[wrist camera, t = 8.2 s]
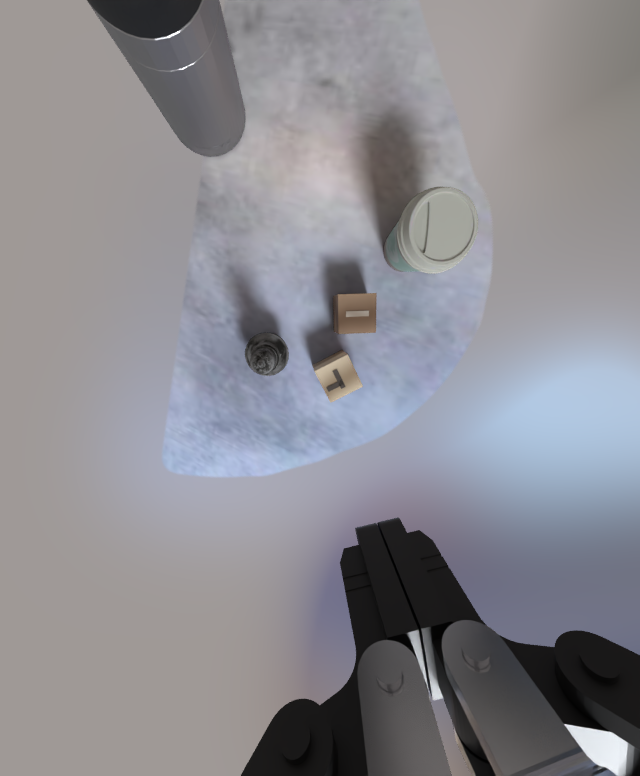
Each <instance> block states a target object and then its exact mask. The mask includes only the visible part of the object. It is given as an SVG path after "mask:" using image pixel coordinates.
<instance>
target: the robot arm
mask: <svg viewBox="0 0 640 776" xmlns="http://www.w3.org/2000/svg"><path fill="white" fill-rule="evenodd" d="M87 1H88V2H89V4H90V5H91V7H92V9H93V10H94V11H95V13H96V15H97V16H98V17H99V19H100V21H101V22H102V23H103V25H104V27H105V28H106V30H107V31H108V33H109V34H110V36H111V37H112V39H113V40H114V41H115V43H116V45H117V46H118V48H119V49H120V50H121V52H122V53H123V55H124V56H125V58H126V60H127V61H128V63H129V64H130V66H131V67H132V69H133V70H134V72H135V73H136V75H137V76H138V78H139V79H140V81H141V82H142V83H143V85H144V87H145V88H146V90H147V91H148V93H149V94H150V96H151V97H152V99H153V100H154V102H155V103H156V105H157V107H158V108H159V109H160V111H161V112H162V114H163V116H164V117H165V119H166V120H167V122H168V123H169V125H170V126H171V128H172V129H173V131H174V132H175V134H176V135H177V137H178V138H179V139H180V141H181V142H182V143H183V144H184V145H185V146H186V147H187V148H189V149H190V150H192V151H193V152H195V153H198V154H200V155H203V156H210V157H211V156H219V155H223V154H225V153H227V152H229V151H230V150H232V149H233V148H234V147H235V146H236V145H237V143H238V142H239V140H240V138H241V137H242V134H243V131H244V127H245V108H244V104H243V99H242V95H241V91H240V86H239V81H238V77H237V73H236V69H235V65H234V60H233V56H232V52H231V48H230V43H229V39H228V35H227V31H226V27H225V22H224V18H223V14H222V10H221V6H220V2H219V0H87ZM377 524H378V526H377ZM377 524H376V523H374V524H370V525H366V526H362V527H357V528H355V529H356V534H357V539H358V544H359V545H357V546H352V547H349V548H344V550H343V554H342V558H341V561H340V565H341V570H342V576H343V581H344V586H345V592H346V597H347V602H348V608H349V613H350V619H351V624H352V629H353V634H354V640H355V645H356V663H355V667H354V670H353V673H352V675H351V677H350V678H349V680H348V682H347V683H346V684H345V685H344V687H343V688H342V689H341V690H340V691H338V692H337V693H336V694H335V695H333V696H332V697H331V698H330V699H328V700H327V701H325V702H324V703H323V704H321V705H318V704H317V703H316V702H314V701H312V700H309V699H298V700H294V701H292V702H289V703H288V704H286V705H285V706H284V707H283V708H281V709H280V710H279V711H278V713H277V714H276V715H275V716H274V718H273V719H272V721H271V723H270V724H269V726H268V728H267V730H266V732H265V733H264V735H263V737H262V739H261V740H260V742H259V744H258V746H257V748H256V749H255V751H254V753H253V755H252V757H251V758H250V760H249V762H248V763H247V765H246V767H245V769H244V771H243V773H242V774H241V776H452V774H451V771H450V768H449V764H448V760H447V757H446V753H445V750H444V746H443V743H442V740H441V736H440V733H439V729H438V726H437V722H436V719H435V715H434V712H433V709H432V705H431V702H430V696H429V691H430V693H431V696H432V699H433V701H434V700H438V699H441V698H443V699H444V701H445V704H446V706H447V709H448V711H449V714H450V717H451V719H452V722H453V729H454V735H455V739H456V742H457V745H458V747H459V749H460V752H461V754H462V756H463V758H464V761H465V763H466V765H467V768H468V770H469V772H470V774H471V776H640V655H638V654H636V653H634V652H632V651H630V650H628V649H626V648H624V647H622V646H619V645H618V644H615V643H613V642H611V641H609V640H607V639H605V638H603V637H601V636H598V635H596V634H593V633H590V632H585V631H569V632H566V633H563V634H562V635H560V636H559V637H558V639H557V640H556V643H555V647H547V646H538V645H529V644H522V643H517V642H514V641H510V640H508V639H506V638H504V637H502V636H500V635H498V634H497V633H496V632H495V631H493V630H492V629H491V628H489V627H488V626H487V625H486V624H485V623H484V622H483V621H482V620H481V618H480V617H479V616H478V614H477V612H476V611H475V609H474V608H473V606H472V604H471V603H470V601H469V599H468V598H467V596H466V594H465V593H464V591H463V589H462V588H461V586H460V585H459V583H458V581H457V580H456V578H455V577H454V575H453V573H452V571H451V570H450V569H449V568H448V565H447V563H446V562H445V560H444V558H443V557H442V556H441V553H440V552H439V550H438V549H437V547H436V545H435V543H434V542H433V540H431V539H430V538H429V537H428V536H426V535H425V534H424V533H422V532H421V531H420V530H418V531H414V532H410V533H407V532H406V530H405V528H404V526H403V524H402V522H401V520H400V519H399V518H394V519H390V520H386V521H382V522H378V523H377ZM428 688H429V689H428Z"/></svg>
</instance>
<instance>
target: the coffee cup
mask: <svg viewBox="0 0 640 776" xmlns="http://www.w3.org/2000/svg"><path fill="white" fill-rule="evenodd" d="M477 231H478V216H477V212H476V209H475V206H474V204H473V202H472V201H471V200H470V198H469V197H468V196H467V195H466V194H465V193H463V192H462V191H460V190H458V189H455V188H450V187H434V188H430V189H428V190H425V191H423V192H421V193H419V194H418V195H416V196H415V197H414V198H413V199H412V200H411V201H410V202H409V203H408V204H407V205H406V207H405V209H404V210H403V212H402V214H401V217H400V220H399V221H398V223H397V224H396V226H395V227H394V229H393V230H392V232H391V233H390V234H389V236H388V238H387V239H386V241H385V244H384V257H385V260H386V262H387V263H388V265H389V266H390V267H391V268H393V269H394V270H396V271H400V272H412V271H421V272H424V273H430V274H435V273H441V272H444V271H447V270H449V269H451V268H452V267H454V266H455V265H457V264H458V263H459V262H460V261H461V260H462V259H463V258H464V257H465V256H466V255H467V253H468V251H469V250H470V249H471V247H472V245H473V243H474V241H475V239H476V235H477Z"/></svg>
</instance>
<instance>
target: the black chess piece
mask: <svg viewBox="0 0 640 776" xmlns="http://www.w3.org/2000/svg"><path fill="white" fill-rule="evenodd" d="M288 357H289V352H288V348H287V346H286V344H285V342H284V341H283V340H282V339H281V338H280V337H279V336H277V335H275V334H272V333H261V334H258V335H256V336H254V337H253V338H252V339H251V340H250V341H249V342H248V344H247V346H246V349H245V358H246V362H247V363H248V365H249V367H250V368H251V369H252V370H253V371H254V372H256V373H257V374H260V375H264V376H270V375H275V374H277V373H279V372H280V371H281V370H283V369H284V367H285V366H286V364H287V361H288Z"/></svg>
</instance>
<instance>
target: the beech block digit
mask: <svg viewBox="0 0 640 776" xmlns="http://www.w3.org/2000/svg"><path fill="white" fill-rule="evenodd" d="M313 368H314V371H315V373H316V375H317V377H318V379H319V381H320V383H321V385H322V387H323V389H324V391H325V393H326V394H327V396H328V398H329V400H330V402H333V401H335V400H337V399H339V398H341V397H343V396H345V395H347V394H349V393H351V392H353V391H355V390H357V389H359V388H361V387H363V386H362V383H361V381H360V379H359V377H358V375H357V373H356V371H355V369H354V367H353V364H352V362H351V360H350V358H349V356H348V354H347V353H345V352H344V351H343V350H341V351H339V352H337V353H335V354H333V355H331V356H329V357H327V358H325V359H323V360H321V361H319V362H318V363H316V364H314V365H313Z"/></svg>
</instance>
